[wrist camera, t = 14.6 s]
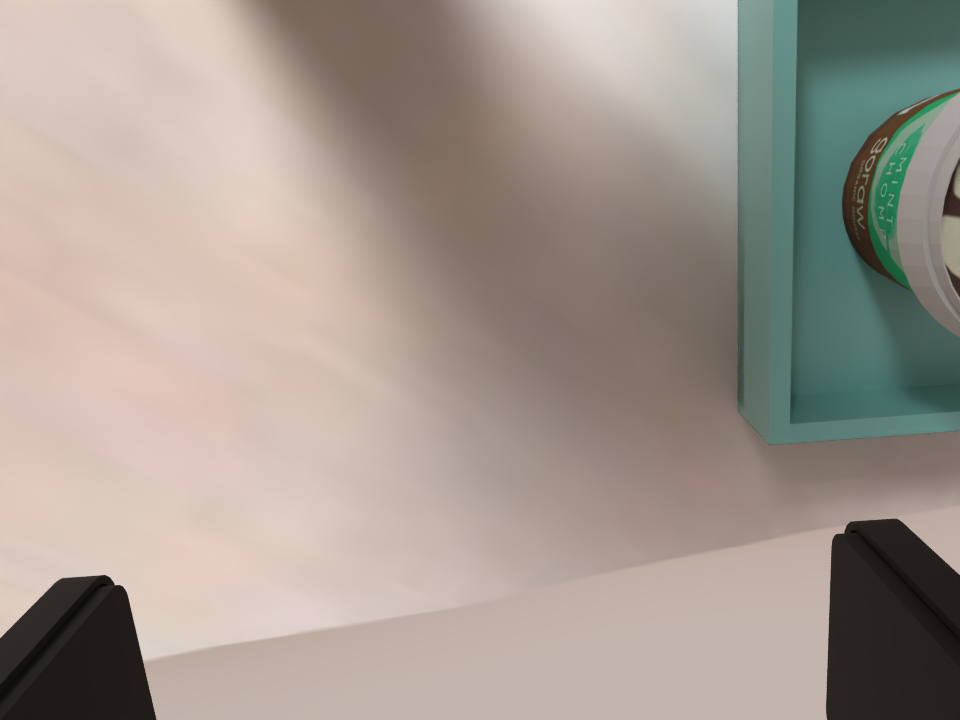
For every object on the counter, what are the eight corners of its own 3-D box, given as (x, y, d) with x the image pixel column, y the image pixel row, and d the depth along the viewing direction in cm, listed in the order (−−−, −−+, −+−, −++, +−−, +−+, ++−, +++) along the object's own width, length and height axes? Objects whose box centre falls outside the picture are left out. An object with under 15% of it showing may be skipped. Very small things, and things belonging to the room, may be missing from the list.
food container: (821, 72, 38) (934, 48, 28) (952, 61, 38) (1111, 32, 28) (814, 323, 41) (913, 379, 31) (934, 314, 41) (1072, 367, 31)
